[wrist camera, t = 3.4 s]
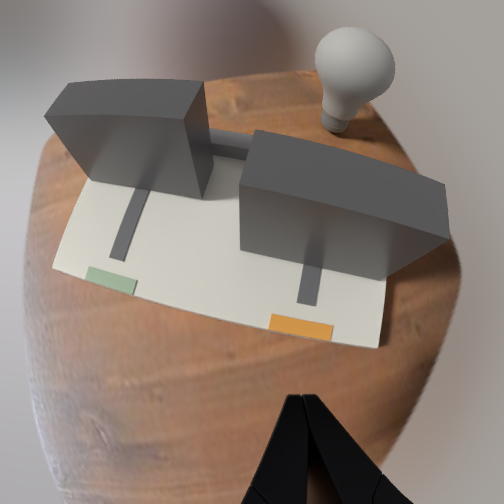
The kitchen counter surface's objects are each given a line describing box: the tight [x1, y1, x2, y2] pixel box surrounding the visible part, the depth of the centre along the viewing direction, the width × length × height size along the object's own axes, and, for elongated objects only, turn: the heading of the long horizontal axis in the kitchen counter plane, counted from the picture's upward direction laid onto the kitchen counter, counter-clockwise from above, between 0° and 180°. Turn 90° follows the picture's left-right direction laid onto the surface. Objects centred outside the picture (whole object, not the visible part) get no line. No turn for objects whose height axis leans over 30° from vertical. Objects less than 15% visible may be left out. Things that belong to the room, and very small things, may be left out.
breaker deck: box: [52, 128, 387, 349], centre depth 20 cm, size 13×24×3 cm, turn 77°
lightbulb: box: [315, 27, 395, 133], centre depth 20 cm, size 6×6×11 cm
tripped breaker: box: [239, 130, 450, 281], centre depth 15 cm, size 3×10×8 cm, turn 77°
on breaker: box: [44, 79, 214, 199], centre depth 17 cm, size 3×10×8 cm, turn 77°
